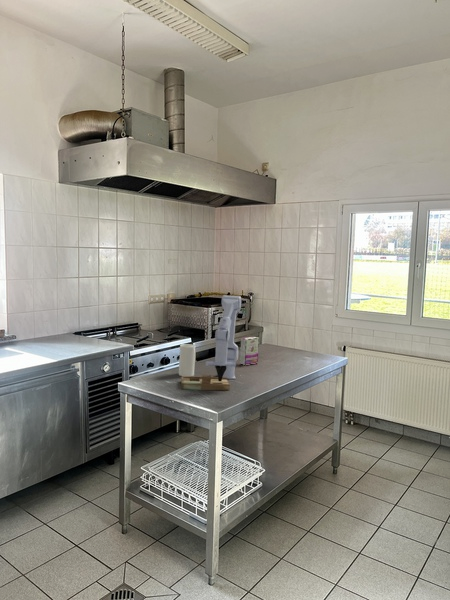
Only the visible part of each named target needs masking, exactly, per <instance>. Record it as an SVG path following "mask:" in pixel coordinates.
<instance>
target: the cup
mask: <svg viewBox="0 0 450 600" xmlns="http://www.w3.org/2000/svg"><path fill="white" fill-rule="evenodd" d="M195 360H196V345H195V344H191V343H183V344H182V343H181V344H180V345H179V361H178V375H179V376H180V377H182V376H192V377H195V365H196V364H195V363H196V361H195Z"/></svg>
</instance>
